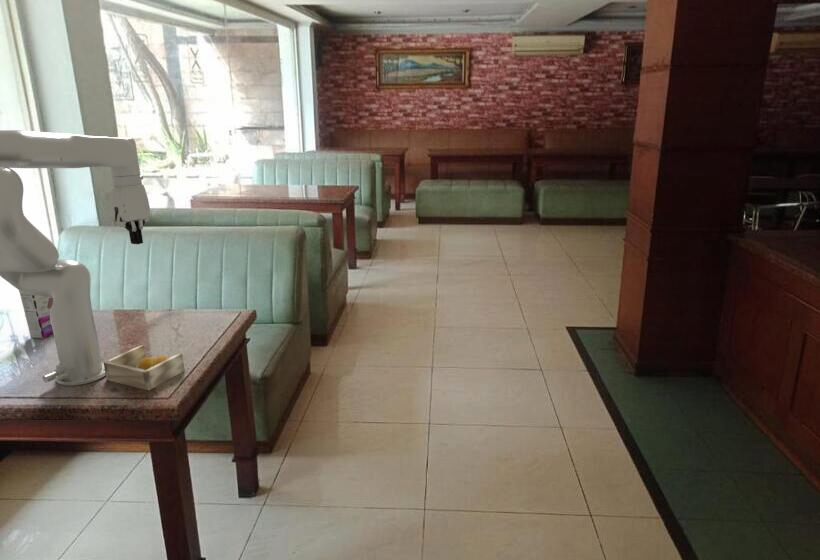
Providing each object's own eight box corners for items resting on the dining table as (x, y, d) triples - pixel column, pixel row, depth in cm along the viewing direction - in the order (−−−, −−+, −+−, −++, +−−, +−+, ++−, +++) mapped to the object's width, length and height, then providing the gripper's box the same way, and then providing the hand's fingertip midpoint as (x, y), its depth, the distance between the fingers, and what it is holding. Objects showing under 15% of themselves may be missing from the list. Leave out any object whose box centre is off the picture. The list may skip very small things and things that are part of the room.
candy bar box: (56, 325, 189) (46, 277, 184) (69, 325, 188) (59, 277, 183) (29, 338, 178) (17, 287, 173) (43, 339, 177) (32, 288, 173)
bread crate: (148, 390, 145) (145, 372, 143) (106, 379, 151) (103, 362, 149) (184, 370, 155) (182, 353, 154) (144, 361, 161) (141, 344, 160)
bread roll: (171, 375, 153) (168, 361, 152) (134, 379, 151) (132, 366, 150) (175, 362, 161) (173, 349, 159) (140, 366, 159) (138, 353, 157)
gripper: (139, 177, 174) (148, 237, 179) (95, 184, 161) (106, 248, 166) (157, 178, 171) (166, 239, 176) (114, 185, 158) (125, 250, 163)
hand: (137, 243), depth 171 cm, fingers closed
